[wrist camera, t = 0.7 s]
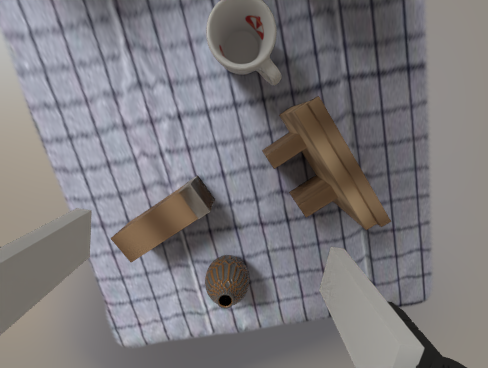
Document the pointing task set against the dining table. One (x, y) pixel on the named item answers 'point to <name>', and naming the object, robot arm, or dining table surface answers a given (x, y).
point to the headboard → (325, 165)
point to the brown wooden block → (164, 219)
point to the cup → (243, 37)
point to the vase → (227, 280)
